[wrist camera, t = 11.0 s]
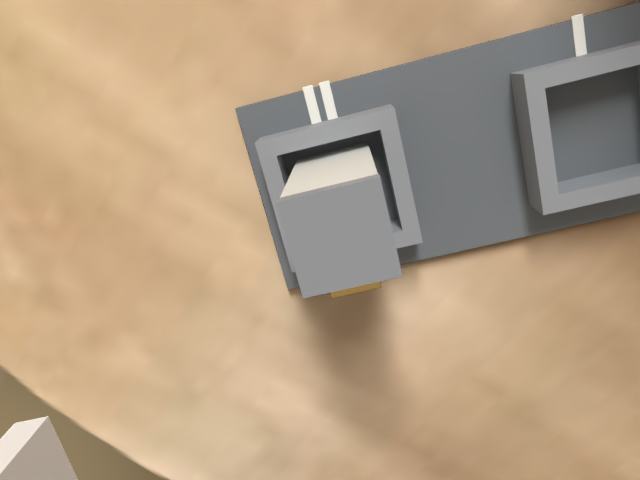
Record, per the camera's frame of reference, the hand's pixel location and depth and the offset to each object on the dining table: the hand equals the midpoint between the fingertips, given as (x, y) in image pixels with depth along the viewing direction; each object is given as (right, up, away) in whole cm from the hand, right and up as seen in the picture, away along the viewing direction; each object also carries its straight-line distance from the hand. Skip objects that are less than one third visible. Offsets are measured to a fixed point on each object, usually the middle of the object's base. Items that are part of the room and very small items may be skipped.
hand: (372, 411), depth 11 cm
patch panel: (+8, +9, +23) cm, 26 cm away
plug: (0, +7, +23) cm, 24 cm away
